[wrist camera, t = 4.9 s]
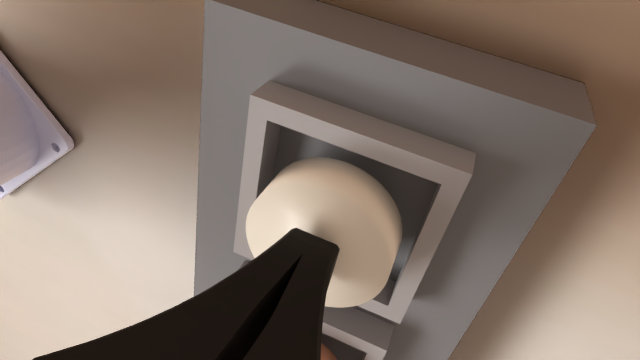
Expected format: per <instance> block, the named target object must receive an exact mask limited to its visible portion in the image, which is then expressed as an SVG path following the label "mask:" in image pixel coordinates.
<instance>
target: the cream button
mask: <svg viewBox="0 0 640 360" xmlns="http://www.w3.org/2000/svg"><path fill="white" fill-rule="evenodd" d="M293 228H298V229H301V230H303V231H305V232H308V233H310V234H313V235H315V236H317V237H320V238H322V239H325V240H327V241H330V242H332V243H334V244H337V245H338V247H339V249H340V251H339V254H338V257H337V261H336V264H335V267H334V270H333V274H332V277H331V280H330V283H329V287H328V290H327V293H326V300H325V306H327V307H336V308H345V307H353V306H357V305H361V304H363V303H366V302H368V301H370V300H371V299H373V298H374V297H376V296H377V295H378V294H379V293H380V292H381V291H382V289H383V288H384V287H385V285H386V283H387V281H388V278H389V275H390V272H391V270H392V267H393V264H394V261H395V258H396V255H397V252H398V249H399V246H400V243H401V240H402V221H401V216H400V213H399V210H398V208H397V206H396V204H395V202H394V200H393V198H392V197H391V195H390V194H389V193H388V191H387V190H386V189H385V188H384V187H383V186H382V184H380V183H379V182H378V181H377V180H376V179H375V178H374V177H372V176H371V175H370V174H368V173H367V172H365V171H364V170H362V169H360V168H358V167H357V166H354V165H352V164H350V163H347V162H344V161H341V160H337V159H332V158H324V157H314V158H306V159H301V160H299V161H296V162H293V163H291V164H290V165H288V166H286V167H285V168H284V169H282V170H281V171H280V172H279V173H278V174H277V176H276V177H275V178H274V179H273V180H272V181H271V183H270V184H269V185H268V186H267V187H266V188H265V190H264V191H263V192H262V193H261V194H260V195H259V197H258V198H257V199H256V200H255V201H254V203H253V204H252V206H251V207H250V209H249V212H248V214H247V219H246V237H247V241H248V245H249V247H250V250H251V252H252V254H253V256H254V258H256V257H257V256H259V255H260V254H261V253H263V252H264V251H265V250H267V249H268V248H269V247H271V246H272V245H273V244H274V243H276V242H277V241H278V240H279V239H281V238H282V237H283V236H284V235H285V234H287V233H288V232H289V231H290V230H291V229H293Z"/></svg>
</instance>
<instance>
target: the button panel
mask: <svg viewBox="0 0 640 360" xmlns="http://www.w3.org/2000/svg"><path fill="white" fill-rule="evenodd" d="M596 126H597V123H596V120H595V117H594V113H593V110H592V107H591V104H590V100H589V97H588V94H587V91H586V87H585V84H584V83H582V82H578V81H575V80H572V79H569V78H566V77H562V76H559V75H556V74H553V73H549V72H546V71H543V70H540V69H536V68H533V67H530V66H527V65H523V64H520V63H517V62H514V61H511V60H507V59H504V58H501V57H498V56H494V55H491V54H488V53H485V52H481V51H478V50H475V49H472V48H468V47H465V46H462V45H459V44H456V43H452V42H449V41H446V40H443V39H439V38H436V37H433V36H430V35H426V34H423V33H420V32H417V31H414V30H410V29H407V28H404V27H401V26H397V25H394V24H391V23H388V22H384V21H381V20H378V19H375V18H371V17H368V16H365V15H362V14H359V13H355V12H352V11H349V10H346V9H342V8H339V7H336V6H333V5H329V4H326V3H323V2H320V1H316V0H205V10H204V37H203V64H202V91H201V118H200V145H199V172H198V199H197V225H196V252H195V279H194V296H196V295H198V294H200V293H201V292H203V291H205V290H207V289H208V288H210V287H212V286H213V285H215V284H217V283H218V282H220V281H221V280H223V279H225V278H226V277H228V276H229V275H231V274H233V273H234V272H236V271H237V270H239V269H240V268H242V267H243V266H245V265H246V264H247V263H249V262H250V261H252V260H253V259H255V258H254V256H253V254H252V252H251V250H250V247H249V245H248V241H247V237H246V219H247V214H248V212H249V209H250V207H251V206H252V204H253V203H254V201H255V200H256V199H257V198H258V197H259V195H260V194H261V193H262V192H263V191H264V190H265V188H266V187H267V186H268V185H269V184H270V183H271V181H272V180H273V179H274V178H275V177H276V176H277V174H278V173H279V172H280V171H281V170H282V169H284V168H285V167H286V166H288V165H290V164H291V163H293V162H296V161H299V160H301V159H306V158H314V157H324V158H332V159H337V160H341V161H344V162H347V163H350V164H352V165H354V166H357V167H358V168H360V169H362V170H364V171H365V172H367V173H368V174H370V175H371V176H372V177H374V178H375V179H376V180H377V181H378V182H379V183H380V184H382V186H383V187H384V188H385V189H386V190H387V191H388V193H389V194H390V195H391V197H392V198H393V200H394V202H395V204H396V206H397V208H398V210H399V213H400V216H401V221H402V240H401V243H400V246H399V249H398V252H397V255H396V258H395V261H394V264H393V267H392V270H391V272H390V275H389V278H388V281H387V283H386V285H385V287H384V288H383V289H382V291H381V292H380V293H379V294H378V295H377V296H376V297H374V298H373V299H371V300H370V301H368V302H366V303H363V304H361V305H357V306H353V307H345V308H336V307H327V306H325V307H324V315H323V325H322V340H321V343H322V344H324V345H325V346H326V347H327V348H328V349H329V350H330V351H331V352H332V353H333V355H334V356H335V357H336V359H337V360H448V358H449V357H450V355H451V354H452V352H453V351H454V349H455V347H456V346H457V344H458V343H459V341H460V340H461V338H462V336H463V335H464V333H465V332H466V330H467V329H468V327H469V325H470V324H471V322H472V321H473V319H474V318H475V316H476V314H477V313H478V311H479V310H480V308H481V307H482V305H483V303H484V302H485V300H486V299H487V297H488V296H489V294H490V292H491V291H492V289H493V288H494V286H495V285H496V283H497V281H498V280H499V278H500V277H501V275H502V274H503V272H504V270H505V269H506V267H507V266H508V264H509V263H510V261H511V259H512V258H513V256H514V255H515V253H516V252H517V250H518V248H519V247H520V245H521V244H522V242H523V241H524V239H525V237H526V236H527V234H528V233H529V231H530V230H531V228H532V226H533V225H534V223H535V222H536V220H537V219H538V217H539V215H540V214H541V212H542V211H543V209H544V208H545V206H546V205H547V203H548V201H549V200H550V198H551V197H552V195H553V194H554V192H555V190H556V189H557V187H558V186H559V184H560V183H561V181H562V179H563V178H564V176H565V175H566V173H567V172H568V170H569V168H570V167H571V165H572V164H573V162H574V161H575V159H576V157H577V156H578V154H579V153H580V151H581V150H582V148H583V146H584V145H585V143H586V142H587V140H588V139H589V137H590V135H591V134H592V132H593V131H594V129H595V128H596Z"/></svg>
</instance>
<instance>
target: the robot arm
mask: <svg viewBox="0 0 640 360" xmlns="http://www.w3.org/2000/svg"><path fill="white" fill-rule="evenodd" d="M73 148H74V142H73V140H72V138H71V137H70V136H69V134H68V133H67V132H66V131H65V130H64V128H63V127H62V126H61V125H60V123H59V122H58V121H57V120H56V118H55V117H54V116H53V115H52V113H51V112H50V111H49V110H48V109H47V107H46V106H45V105H44V104H43V102H42V101H41V100H40V99H39V97H38V96H37V95H36V94H35V92H34V91H33V90H32V89H31V88H30V86H29V85H28V84H27V83H26V81H25V80H24V79H23V78H22V76H21V75H20V74H19V73H18V71H17V70H16V69H15V68H14V67H13V65H12V64H11V63H10V62H9V60H8V59H7V58H6V57H5V55H4V54H3V53H2V52H1V50H0V199H2V198H4V197H5V196H7V195H8V194H10V193H11V192H13V191H14V190H15V189H17V188H18V187H20V186H21V185H22V184H24V183H25V182H27V181H28V180H30V179H31V178H32V177H34V176H35V175H37V174H38V173H39V172H41V171H42V170H44V169H45V168H47V167H48V166H49V165H51V164H52V163H54V162H55V161H57V160H58V159H59V158H61V157H62V156H64V155H65V154H66V153H68V152H69V151H71V150H72V149H73ZM339 251H340V249H339V247H338V245H337V244H334V243H332V242H330V241H327V240H325V239H322V238H320V237H317V236H315V235H313V234H310V233H308V232H305V231H303V230H301V229H298V228H293V229H291V230H290V231H289V232H288V233H287V234H285V235H284V236H283V237H282V238H281V239H279V240H278V241H277V242H276V243H274V244H273V245H272V246H271V247H269V248H268V249H267V250H265V251H264V252H263V253H261V254H260V255H259V256H257V257H256V258H255V259H253V260H252V261H250V262H249V263H247V264H246V265H245V266H243V267H242V268H240V269H239V270H237V271H236V272H234V273H233V274H231V275H229V276H228V277H226V278H225V279H223V280H221V281H220V282H218V283H217V284H215V285H213V286H212V287H210V288H208V289H207V290H205V291H203V292H201V293H200V294H198V295H196V296H194V297H192V298H190V299H188V300H187V301H185V302H183V303H181V304H179V305H177V306H175V307H173V308H171V309H168V310H166V311H164V312H162V313H160V314H158V315H155V316H153V317H151V318H149V319H147V320H144V321H142V322H140V323H137V324H135V325H132V326H130V327H127V328H124V329H122V330H119V331H116V332H114V333H111V334H108V335H106V336H103V337H100V338H98V339H95V340H92V341H89V342H86V343H83V344H79V345H76V346H73V347H70V348H66V349H63V350H60V351H56V352H53V353H50V354H46V355H43V356H39V357H36V358H34V359H33V360H321V340H322V325H323V315H324V307H325V300H326V293H327V290H328V287H329V283H330V280H331V277H332V274H333V270H334V267H335V264H336V261H337V257H338V254H339Z"/></svg>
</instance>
